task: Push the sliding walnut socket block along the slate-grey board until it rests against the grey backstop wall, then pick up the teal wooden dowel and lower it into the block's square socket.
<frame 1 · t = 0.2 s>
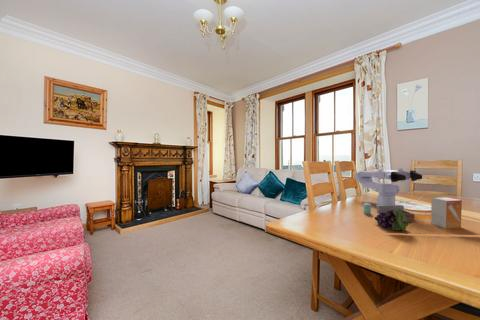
hand: (413, 177, 101), 22 cm above the table, tool horizontal, fingers open, 7 cm apart
board: (400, 219, 102), on the table
small box: (445, 227, 91), on the table
fruit: (392, 230, 88), on the table
block: (401, 215, 102), point 2 cm above the table, slide at 0.0 cm
dowel: (367, 215, 110), on the table
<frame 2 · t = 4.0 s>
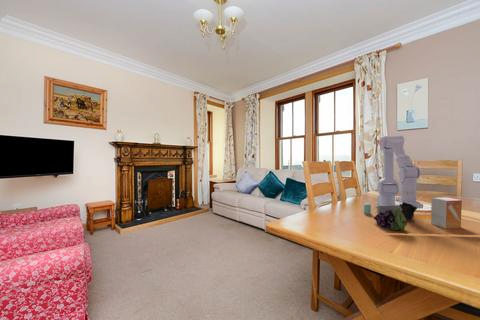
hand: (408, 219, 98), 2 cm above the table, tool pointing down, fingers closed
block: (401, 214, 102), point 2 cm above the table, slide at 0.5 cm, touching gripper
everything else where it was.
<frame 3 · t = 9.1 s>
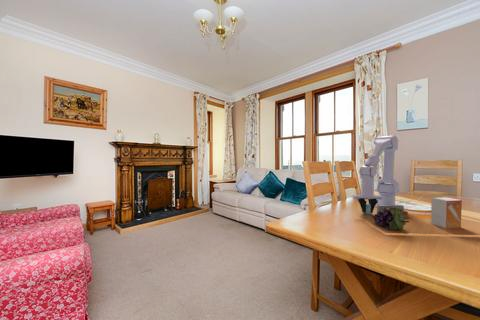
hand: (367, 212, 110), 1 cm above the table, tool pointing down, fingers closed on dowel, 3 cm apart
block: (395, 212, 106), point 2 cm above the table, slide at 4.4 cm
dowel: (367, 215, 110), on the table, touching gripper
when the fingers open (4 cm above the table, at t = 12.2 s): dowel stays where it is, resting on block.
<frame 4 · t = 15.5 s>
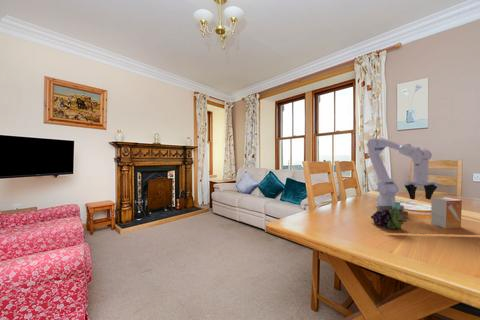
hand: (420, 199, 104), 10 cm above the table, tool pointing down, fingers open, 7 cm apart
block: (395, 212, 106), point 2 cm above the table, slide at 4.4 cm, touching dowel
dowel: (395, 213, 106), point 2 cm above the table, touching block
at the end: block slide at 4.4 cm; dowel 0.0 cm off-centre on the block, point 1.0 cm above the block's base; dowel tilted 2° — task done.
